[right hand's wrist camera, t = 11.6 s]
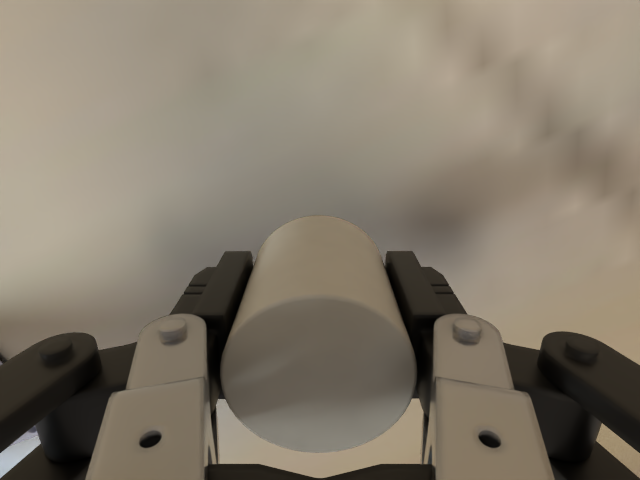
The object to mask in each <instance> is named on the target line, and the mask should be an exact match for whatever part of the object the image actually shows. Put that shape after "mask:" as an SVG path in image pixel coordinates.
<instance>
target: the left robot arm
mask: <svg viewBox="0 0 640 480" xmlns="http://www.w3.org/2000/svg"><path fill="white" fill-rule="evenodd" d="M2 364H3V363H2V362H1V361H0V365H2ZM37 435H38V433H37V430H36V427H35V426H33V427H32V428H31V429H30V430H28V431H27V432H26V433H25V434H23V435H22V436H21V437H20V438H18V439H17V440H16V441H15V442H13V443H12V444H11V445H14V444H16V443H19V442H21V441H24V440H27V439H29V438H32V437H35V436H37ZM11 445H10V446H11Z"/></svg>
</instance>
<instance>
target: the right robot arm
mask: <svg viewBox="0 0 640 480" xmlns="http://www.w3.org/2000/svg"><path fill="white" fill-rule="evenodd" d="M252 269H253V260H252V254H251V252H250V251H226V252H225V253H224V254H223V256H222V258H221V260H220V262H219V264H218V265H217V267H207V268H205V269H204V270H202V271H201V272H199V273H198V274H196V275H195V276H194V277H193V279H192V281H191V282H190V284H189V287H187V288H186V290H185V292H184V295H182V296H181V298H180V299H179V301H178V303H177V304H176V306H175V307H174V309H173V310H172V312H171V314H170V315H169V316H165V317H162V318H159V319H157V320H155V321H153V322H151V323H149V324H148V325H147V326H145V327H144V328H143V329H142V331H141V332H140V334H139V337H138V341H137V342H135V343H132V344H128V345H124V346H119V347H114V348H108V349H103V350H98V347H97V343H96V340H95V338H94V337H93V336H91V335H89V334H86V333H66V334H61V335H57V336H53V337H50V338H47V339H45V340H42V341H40V342H38V343H36V344H35V345H33V346H31V347H29V348H28V349H26V350H25V351H23V352H21V353H20V354H18V355H16V356H15V357H13V358H11V359H10V360H8V361H7V362H5V363H3V364H2V365H0V453H1V452H2V451H3V450H5V449H6V448H7V447H8V446H10V445H11V444H12V443H13V442H15V441H16V440H17V439H18V438H20V437H21V436H22V435H23V434H25V433H26V432H27V431H28V430H30V429H31V428H32V427H33V426H35V427H36V430H37V433H38V436H39V439H40V441H41V444H40V445H39V446H38V447H36V448H35V449H34V450H33V451H32V452H31V453H29V454H28V455H27V456H26V457H25V458H24V459H22V460H21V461H20V462H19V463H18V464H17V465H15V466H14V467H13V468H12V469H11V470H10V471H8V472H7V473H6V474H5V475H4V476H3V477H1V478H0V480H640V478H639V477H637V476H636V475H635V474H634V473H633V472H632V471H630V470H629V469H628V468H627V467H626V466H625V465H623V464H622V463H621V462H620V461H619V460H618V459H616V458H615V457H614V456H613V455H612V454H611V453H609V452H608V451H607V450H606V449H605V448H604V447H602V446H601V445H600V444H599V443H598V442H597V441H596V439H597V436H598V433H599V430H600V427H601V424H602V423H603V424H604V425H605V426H607V427H608V428H609V429H610V430H612V431H613V432H614V433H615V434H617V435H618V436H619V437H620V438H622V439H623V440H624V441H625V442H627V443H628V444H629V445H630V446H632V447H633V448H634V449H635V450H637V451H638V452H639V453H640V365H638V364H637V363H635V362H633V361H632V360H630V359H628V358H627V357H625V356H624V355H622V354H620V353H619V352H617V351H615V350H614V349H612V348H611V347H609V346H607V345H606V344H604V343H602V342H600V341H598V340H596V339H594V338H591V337H588V336H585V335H582V334H578V333H572V332H552V333H549V334H547V335H546V336H545V337H544V338H543V340H542V344H541V348H540V350H536V349H531V348H526V347H520V346H515V345H511V344H506V343H503V341H502V337H501V334H500V332H499V331H498V329H497V328H496V327H495V326H493V325H492V324H491V323H489V322H487V321H485V320H483V319H481V318H478V317H475V316H471V315H468V314H467V313H466V311H465V310H464V308H463V306H462V305H461V303H460V302H459V300H458V299H457V297H456V295H455V294H454V292H453V291H452V289H451V287H450V286H449V284H448V283H447V281H446V279H445V278H444V276H443V275H442V274H440V273H439V272H437V271H436V270H434V269H433V268H431V267H421V266H420V264H419V262H418V260H417V258H416V256H415V255H414V253H413V251H387V253H386V259H385V269H386V272H387V275H388V278H389V281H390V284H391V286H392V289H393V292H394V295H395V298H396V301H397V304H398V307H399V310H400V312H401V315H402V318H403V321H404V324H405V327H406V330H407V333H408V336H409V339H410V341H411V344H412V347H413V350H414V354H415V358H416V362H417V382H416V386H415V390H414V394H413V397H412V398H419V399H420V403H421V406H422V409H423V419H422V436H421V459H420V464H379V465H375V466H371V467H367V468H363V469H359V470H355V471H351V472H347V473H343V474H339V475H335V476H331V477H327V478H313V477H309V476H305V475H301V474H297V473H293V472H289V471H285V470H281V469H277V468H273V467H269V466H265V465H261V464H220V459H219V436H218V419H217V411H216V403H217V400H218V399H225V396H224V393H223V390H222V386H221V380H220V363H221V358H222V354H223V351H224V348H225V345H226V342H227V340H228V337H229V334H230V331H231V328H232V326H233V323H234V320H235V317H236V314H237V311H238V309H239V306H240V303H241V300H242V297H243V295H244V292H245V289H246V286H247V283H248V280H249V278H250V275H251V272H252Z"/></svg>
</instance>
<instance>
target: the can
mask: <svg viewBox="0 0 640 480" xmlns="http://www.w3.org/2000/svg"><path fill="white" fill-rule="evenodd" d="M220 380H221V386H222V390H223V393H224V396H225V399H226V401H227V403H228V405H229V407H230V409H231V410H232V412H233V413H234V415H235V416H236V417H237V418H238V419H239V420H240V422H241V423H242V424H243V425H244V426H246V427H247V428H248V429H249V430H250V431H252V432H253V433H254V434H256V435H257V436H259V437H260V438H262V439H264V440H266V441H268V442H270V443H273V444H275V445H278V446H280V447H284V448H287V449H291V450H296V451H302V452H312V453H327V452H336V451H342V450H346V449H351V448H354V447H357V446H360V445H362V444H365V443H367V442H369V441H371V440H373V439H375V438H377V437H378V436H380V435H382V434H383V433H384V432H386V431H387V430H388V429H390V428H391V427H392V426H393V425H394V424H395V423H396V422H397V421H398V420H399V418H400V417H401V416H402V415H403V414H404V412H405V410H406V409H407V407H408V405H409V404H410V401H411V399H412V397H413V394H414V390H415V386H416V382H417V362H416V358H415V354H414V350H413V347H412V344H411V341H410V339H409V336H408V333H407V330H406V327H405V324H404V321H403V318H402V315H401V312H400V310H399V307H398V304H397V301H396V298H395V295H394V292H393V289H392V286H391V284H390V281H389V278H388V275H387V272H386V269H385V266H384V263H383V260H382V257H381V255H380V253H379V250H378V248H377V247H376V245H375V243H374V242H373V241H372V239H371V238H370V237H369V236H368V235H367V234H366V233H365V232H364V231H363V230H361V229H360V228H358V227H357V226H356V225H354V224H352V223H350V222H348V221H345V220H343V219H340V218H336V217H332V216H323V215H317V216H307V217H302V218H298V219H295V220H293V221H290V222H288V223H286V224H284V225H283V226H281V227H279V228H278V229H277V230H275V231H274V232H273V233H272V234H271V235H270V236H269V237H268V238H267V239H266V241H265V242H264V243H263V245H262V247H261V249H260V250H259V252H258V255H257V258H256V261H255V264H254V266H253V269H252V272H251V275H250V278H249V280H248V283H247V286H246V289H245V292H244V295H243V297H242V300H241V303H240V306H239V309H238V311H237V314H236V317H235V320H234V323H233V326H232V328H231V331H230V334H229V337H228V340H227V342H226V345H225V348H224V351H223V354H222V358H221V363H220Z"/></svg>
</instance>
